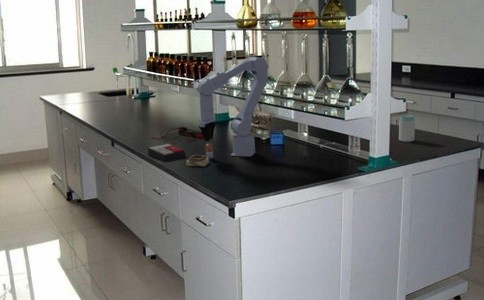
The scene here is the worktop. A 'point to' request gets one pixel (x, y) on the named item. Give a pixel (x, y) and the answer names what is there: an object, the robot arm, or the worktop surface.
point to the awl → (209, 151)
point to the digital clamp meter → (185, 132)
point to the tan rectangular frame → (197, 160)
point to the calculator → (166, 152)
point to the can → (406, 128)
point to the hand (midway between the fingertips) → (208, 140)
